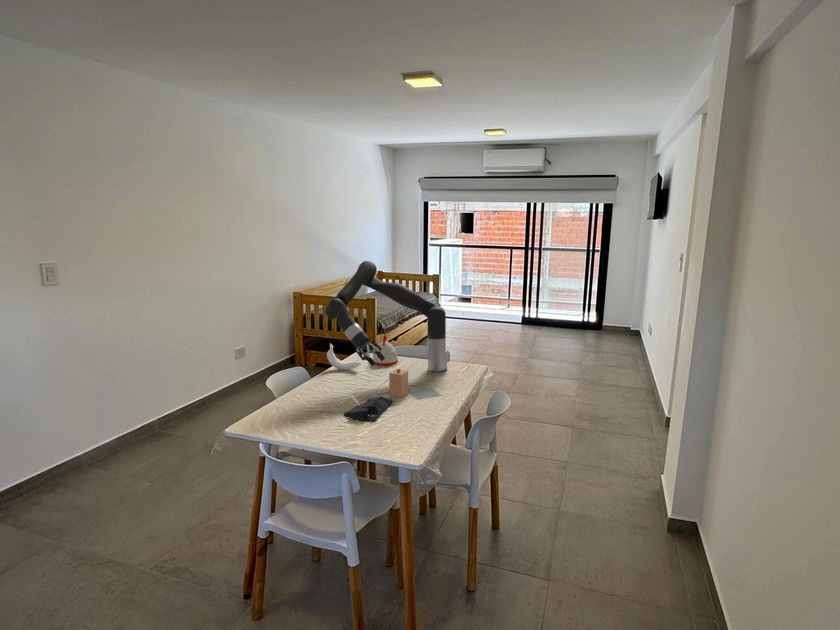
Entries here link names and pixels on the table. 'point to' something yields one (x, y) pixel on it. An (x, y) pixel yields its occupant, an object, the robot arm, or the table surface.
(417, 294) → the robot arm
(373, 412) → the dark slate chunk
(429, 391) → the mat
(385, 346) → the kitchen timer
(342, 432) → the table surface
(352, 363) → the banana
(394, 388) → the tan rectangular block
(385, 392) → the table surface
